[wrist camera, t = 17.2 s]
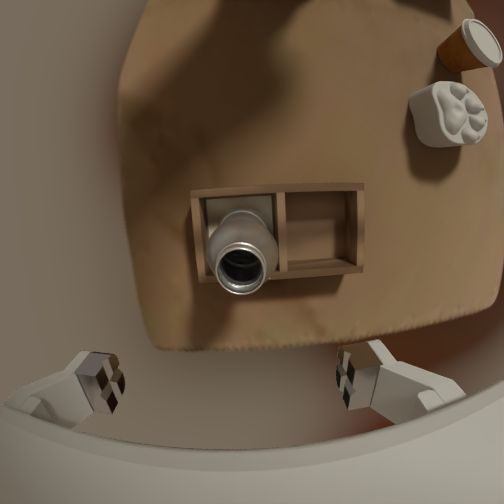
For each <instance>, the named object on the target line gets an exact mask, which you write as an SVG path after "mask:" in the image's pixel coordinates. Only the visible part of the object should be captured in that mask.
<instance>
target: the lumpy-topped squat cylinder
mask: <svg viewBox="0 0 504 504" xmlns="http://www.w3.org/2000/svg"><path fill="white" fill-rule="evenodd" d="M409 107H410V110H411V112H412V115H413V118H414V123H415V131H416V135H417V137H418V139H419V140H420V141H421V142H422V143H423V144H425V145H426V146H429V147H438V148H443V147H453V146H462V145H472V144H476V143H478V142H479V141H480V140H481V139H482V137H483V136H484V135H485V133H486V129H487V124H488V118H487V114H486V111H485V108H484V106H483V104H482V103H481V101H480V100H479V98H478V97H477V96H476V95H475V94H474V93H473V92H472V91H471V90H470V89H469V88H467V87H466V86H465V85H462V84H460V83H456V82H450V81H439V82H436V83H434V84H431V85H429V86H427V87H425V88H423V89H421V90H418V91H416V92H414V93H413V94H411V96H410V98H409Z"/></svg>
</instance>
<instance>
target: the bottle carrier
mask: <svg viewBox="0 0 504 504" xmlns="http://www.w3.org/2000/svg"><path fill="white" fill-rule="evenodd" d="M190 198H191V211H192V222H193V233H194V243H195V253H196V262H197V271H198V279H199V284H210V283H219V282H218V280H217V277H216V276H215V275H214V273H213V272H212V270H211V269H210V267H209V264H208V262H207V256H206V247H207V243H208V240H209V238H210V236H211V234H212V233H213V232H214V231H215V229H217V228H218V224H219V221H220V219H221V218H222V216H223V215H224V214H225V213H226V212H227V211H229V210H231V209H233V208H237V207H248V208H251V209H253V210H255V211H257V212H258V213H259V214H261V216H262V217H263V218H264V219H265V221H266V223H267V226H268V231H269V232H270V233H271V234H272V236H273V237H274V239H275V241H276V244H277V247H278V254H279V256H278V263H277V266H276V269H275V271H274V272H273V274H272V275H271V276H270V277H269V279H268V280H276V279H291V278H304V277H317V276H329V275H341V274H352V273H363V263H364V183H303V184H275V185H255V186H239V187H225V188H212V189H201V190H191V191H190Z"/></svg>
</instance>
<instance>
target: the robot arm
mask: <svg viewBox="0 0 504 504" xmlns="http://www.w3.org/2000/svg"><path fill="white" fill-rule="evenodd" d="M338 358H339V361H340V363H339V364H338V365H337V366H336V382H337V386H338V388H339V390H340V391H342V392H343V400H344V403H345V405H346V407H347V410H353V409H358V408H363V407H368V406H370V407H371V408H372V409H374V410H375V411H377V412H378V413H380V414H381V415H383V416H384V417H386V418H387V419H389V420H390V421H392V422H393V423H395V424H396V425H393V426H389V427H386V428H382V429H379V430H375V431H371V432H367V433H363V434H358V435H354V436H350V437H345V438H340V439H334V440H329V441H323V442H317V443H310V444H302V445H294V446H285V447H274V448H260V449H259V448H258V449H225V450H224V449H190V448H176V447H165V446H155V445H148V444H141V443H134V442H128V441H122V440H116V439H112V438H106V437H102V436H98V435H93V434H89V433H85V432H81V431H77V430H73V429H72V428H73V427H74V426H76V425H77V424H78V423H80V422H81V421H83V420H84V419H85V418H87V417H88V416H89V415H91V414H92V413H93V411H94V412H101V413H107V414H113V412H114V410H115V408H116V406H117V404H118V402H117V398H119V397H120V396H122V394H123V392H124V389H125V379H124V376H123V373H122V372H121V371H120V370H119V369H118V366H119V361H118V358H117V356H115V355H114V354H109V353H100V352H92V351H80V352H79V353H78V354H77V355H76V357H75V358H74V359H73V360H72V361H71V362H70V363H69V365H68V366H67V367H66V368H65V369H64V370H63V372H62V371H59V372H56V373H54V374H52V375H49V376H47V377H45V378H42V379H40V380H38V381H35V382H33V383H31V384H28V385H26V386H24V387H21V388H19V389H16V390H15V391H14V392H13V394H12V395H11V396H10V397H9V398H8V399H7V400H6V401H5V402H4V404H2V403H0V504H504V379H502V380H501V381H499V382H497V383H495V384H493V385H491V386H489V387H488V388H485V389H484V390H482V391H480V392H478V393H475V394H474V395H471V396H469V397H468V396H467V395H466V394H465V393H464V392H463V391H462V389H461V388H460V387H459V386H458V385H457V384H456V383H455V382H454V381H453V380H451V379H448V378H445V377H443V376H440V375H437V374H434V373H431V372H429V371H426V370H423V369H420V368H418V367H415V366H412V365H410V364H407V363H404V362H401V361H400V362H397V361H396V360H395V358H394V357H393V356H392V355H391V353H390V352H389V351H388V350H387V348H386V347H385V346H384V345H383V343H382V342H381V341H380V340H378V339H377V340H372V341H367V342H363V343H358V344H352V345H346V346H340V347H339V349H338Z"/></svg>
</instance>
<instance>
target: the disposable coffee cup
mask: <svg viewBox="0 0 504 504" xmlns="http://www.w3.org/2000/svg"><path fill="white" fill-rule="evenodd" d="M437 52H438V56H439V59H440V60H441V62H442V63H443V65H444V66H445V67H446V68H447V69H448V70H450V71H452V72H454V73H457V72H462V71H466V70H472V69H477V68H482V67H497V66H498V65H499V63H500V62H501V61H502V52H501V48H500V46H499V43H498V42H497V40H496V38H495V36H494V35H493V34H492V32H490V30H489V29H488V28H487V27H486V26H485V25H484V24H483V23H482V22H480V21H478V20H476V19H465V20H464V21H463V22H462V25H461V26H460V27H459V28H458V29H457V30H456V31H455V32H454V33H452V35H450V36H449V37H448V38H447V39H446V40H445V41H444V42H443V43H442V44H441V45H439V47H438V49H437Z"/></svg>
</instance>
